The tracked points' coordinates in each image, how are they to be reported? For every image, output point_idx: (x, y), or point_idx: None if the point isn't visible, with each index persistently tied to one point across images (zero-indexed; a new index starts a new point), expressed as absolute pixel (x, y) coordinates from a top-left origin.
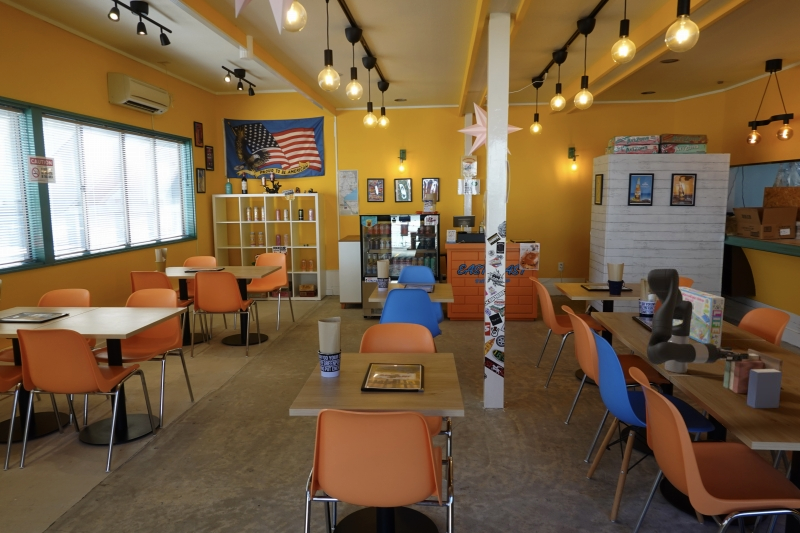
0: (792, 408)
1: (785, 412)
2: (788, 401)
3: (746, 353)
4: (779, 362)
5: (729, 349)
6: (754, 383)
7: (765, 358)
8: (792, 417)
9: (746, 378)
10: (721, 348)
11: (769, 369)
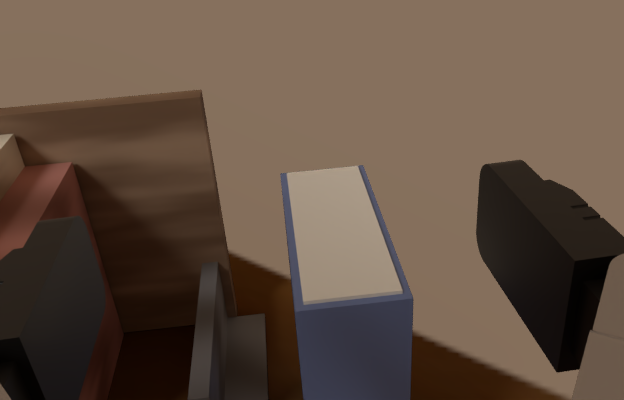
0: None
1: (450, 380)
2: (271, 287)
3: (518, 171)
4: (199, 111)
5: (78, 264)
6: (378, 396)
7: (74, 131)
8: (534, 387)
9: None
10: (2, 392)
11: (303, 195)
